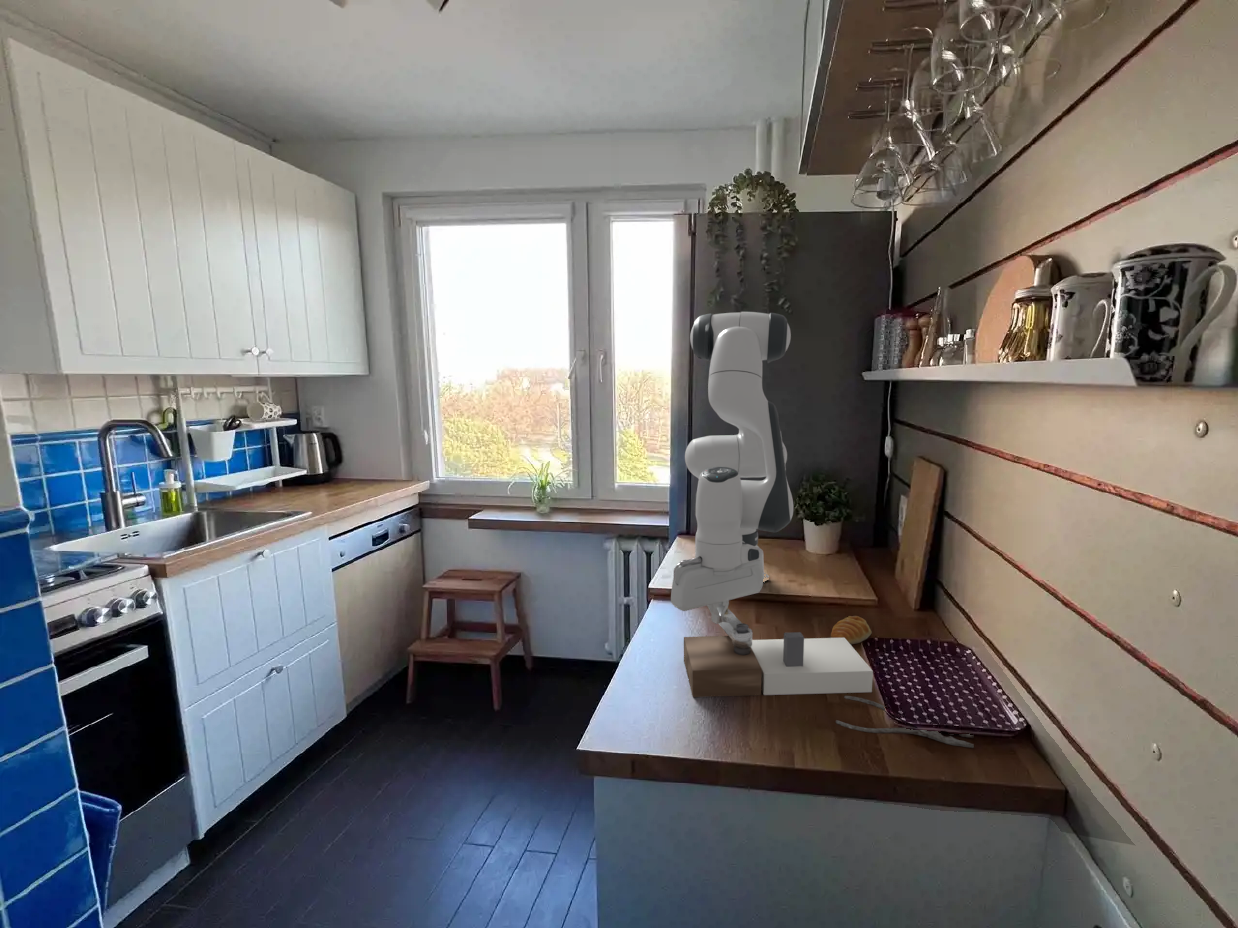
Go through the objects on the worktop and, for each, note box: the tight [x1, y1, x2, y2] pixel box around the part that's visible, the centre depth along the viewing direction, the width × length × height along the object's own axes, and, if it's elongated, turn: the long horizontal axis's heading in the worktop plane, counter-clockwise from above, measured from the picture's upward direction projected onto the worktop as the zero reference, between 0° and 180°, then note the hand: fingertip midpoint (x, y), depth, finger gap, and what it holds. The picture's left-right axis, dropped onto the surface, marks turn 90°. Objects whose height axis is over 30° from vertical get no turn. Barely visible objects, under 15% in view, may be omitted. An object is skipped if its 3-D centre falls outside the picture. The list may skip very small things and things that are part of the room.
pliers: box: [835, 695, 975, 749], centre depth 98 cm, size 10×1×20 cm
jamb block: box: [683, 635, 762, 698], centre depth 112 cm, size 13×12×6 cm
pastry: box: [830, 615, 872, 645], centre depth 127 cm, size 9×7×4 cm
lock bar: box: [717, 606, 753, 648], centre depth 116 cm, size 13×4×4 cm, turn 11°
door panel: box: [751, 631, 874, 696], centre depth 112 cm, size 13×19×10 cm
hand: (717, 622), depth 118 cm, fingers closed
